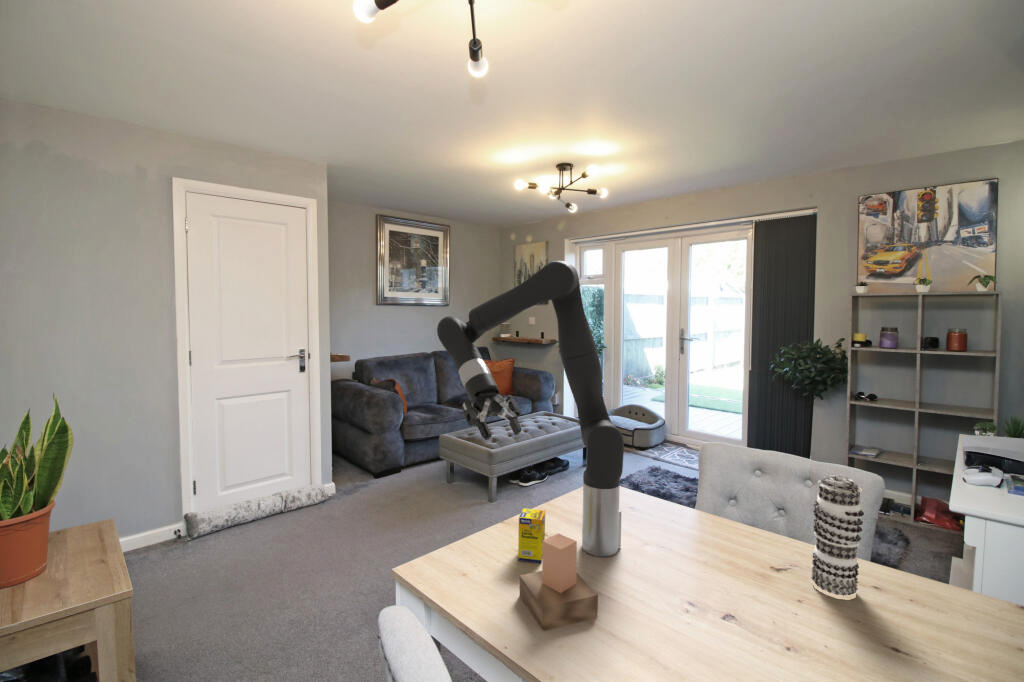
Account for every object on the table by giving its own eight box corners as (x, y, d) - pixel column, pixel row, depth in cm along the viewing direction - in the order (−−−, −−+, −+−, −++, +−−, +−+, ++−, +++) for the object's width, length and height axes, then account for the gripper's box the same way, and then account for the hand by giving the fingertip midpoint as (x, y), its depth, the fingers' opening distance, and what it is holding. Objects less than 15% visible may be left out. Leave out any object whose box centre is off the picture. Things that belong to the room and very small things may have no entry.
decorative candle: (853, 583, 109) (860, 475, 107) (863, 606, 100) (870, 489, 99) (807, 574, 113) (812, 469, 111) (812, 594, 104) (818, 482, 103)
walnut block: (569, 586, 107) (569, 565, 107) (597, 618, 96) (598, 594, 96) (519, 597, 103) (519, 575, 103) (542, 632, 92) (543, 607, 91)
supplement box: (541, 563, 116) (542, 519, 115) (517, 561, 117) (518, 517, 117) (545, 551, 122) (545, 509, 121) (522, 549, 123) (522, 507, 122)
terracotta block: (558, 574, 103) (558, 533, 103) (576, 583, 99) (576, 541, 99) (542, 583, 100) (542, 540, 99) (560, 593, 96) (560, 549, 96)
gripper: (459, 373, 114) (485, 431, 105) (507, 370, 122) (535, 423, 114) (447, 392, 118) (472, 449, 110) (495, 387, 127) (520, 440, 119)
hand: (504, 435), depth 112 cm, fingers open, 8 cm apart
